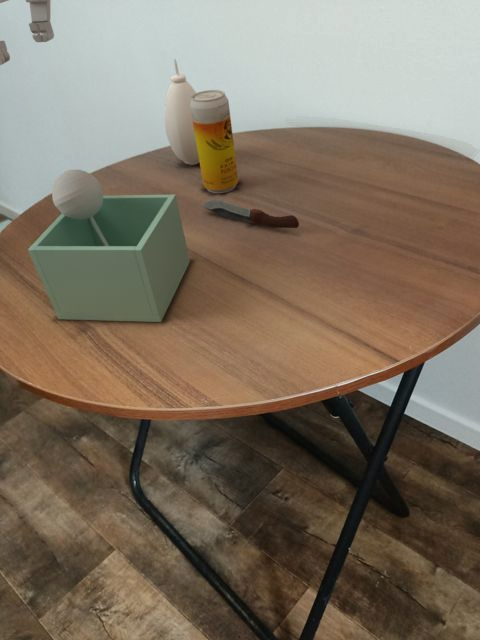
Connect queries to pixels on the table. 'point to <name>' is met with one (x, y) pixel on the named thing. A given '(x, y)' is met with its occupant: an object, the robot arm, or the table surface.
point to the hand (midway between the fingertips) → (23, 51)
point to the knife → (249, 214)
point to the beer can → (214, 140)
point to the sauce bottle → (180, 119)
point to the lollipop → (78, 196)
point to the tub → (114, 260)
